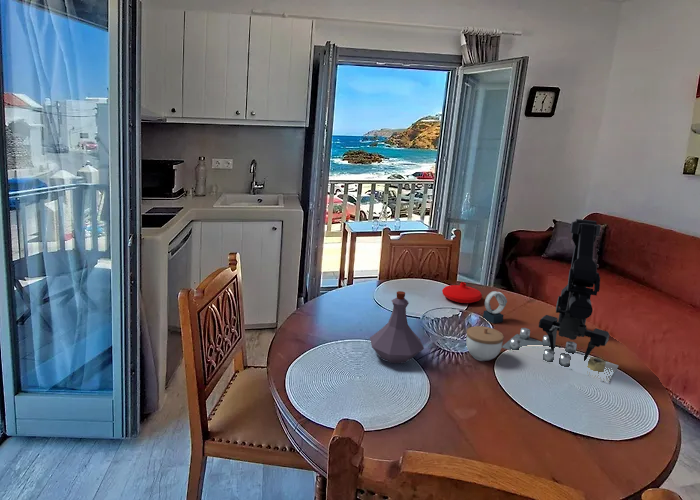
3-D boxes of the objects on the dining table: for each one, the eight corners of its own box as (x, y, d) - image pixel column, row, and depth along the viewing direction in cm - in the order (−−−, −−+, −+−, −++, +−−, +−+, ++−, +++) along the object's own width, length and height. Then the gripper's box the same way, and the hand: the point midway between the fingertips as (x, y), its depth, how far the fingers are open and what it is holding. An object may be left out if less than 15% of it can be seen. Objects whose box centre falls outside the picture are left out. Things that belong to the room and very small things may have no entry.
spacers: (521, 335, 164) (522, 327, 163) (579, 353, 153) (581, 344, 152) (505, 348, 153) (507, 339, 152) (567, 368, 142) (569, 359, 141)
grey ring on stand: (506, 322, 175) (511, 293, 172) (488, 325, 172) (493, 295, 169) (496, 316, 180) (500, 288, 177) (478, 319, 177) (482, 290, 174)
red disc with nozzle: (441, 304, 189) (443, 287, 188) (441, 291, 204) (442, 275, 203) (483, 309, 187) (485, 291, 185) (479, 295, 202) (481, 279, 200)
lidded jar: (480, 368, 140) (484, 338, 138) (456, 352, 150) (460, 323, 147) (508, 361, 145) (512, 332, 143) (483, 346, 154) (486, 319, 152)
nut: (590, 363, 147) (591, 355, 146) (605, 367, 144) (607, 359, 144) (586, 368, 143) (587, 360, 142) (601, 373, 141) (603, 365, 140)
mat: (516, 335, 165) (516, 333, 165) (618, 366, 146) (618, 365, 146) (500, 348, 154) (501, 347, 154) (608, 383, 136) (608, 382, 136)
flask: (427, 350, 150) (434, 288, 144) (416, 374, 134) (423, 307, 129) (376, 340, 155) (381, 280, 149) (360, 362, 139) (365, 296, 134)
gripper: (536, 306, 143) (528, 354, 147) (606, 324, 133) (595, 376, 137) (548, 297, 152) (540, 342, 156) (614, 313, 141) (604, 362, 145)
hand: (568, 355), depth 148 cm, fingers open, 9 cm apart
